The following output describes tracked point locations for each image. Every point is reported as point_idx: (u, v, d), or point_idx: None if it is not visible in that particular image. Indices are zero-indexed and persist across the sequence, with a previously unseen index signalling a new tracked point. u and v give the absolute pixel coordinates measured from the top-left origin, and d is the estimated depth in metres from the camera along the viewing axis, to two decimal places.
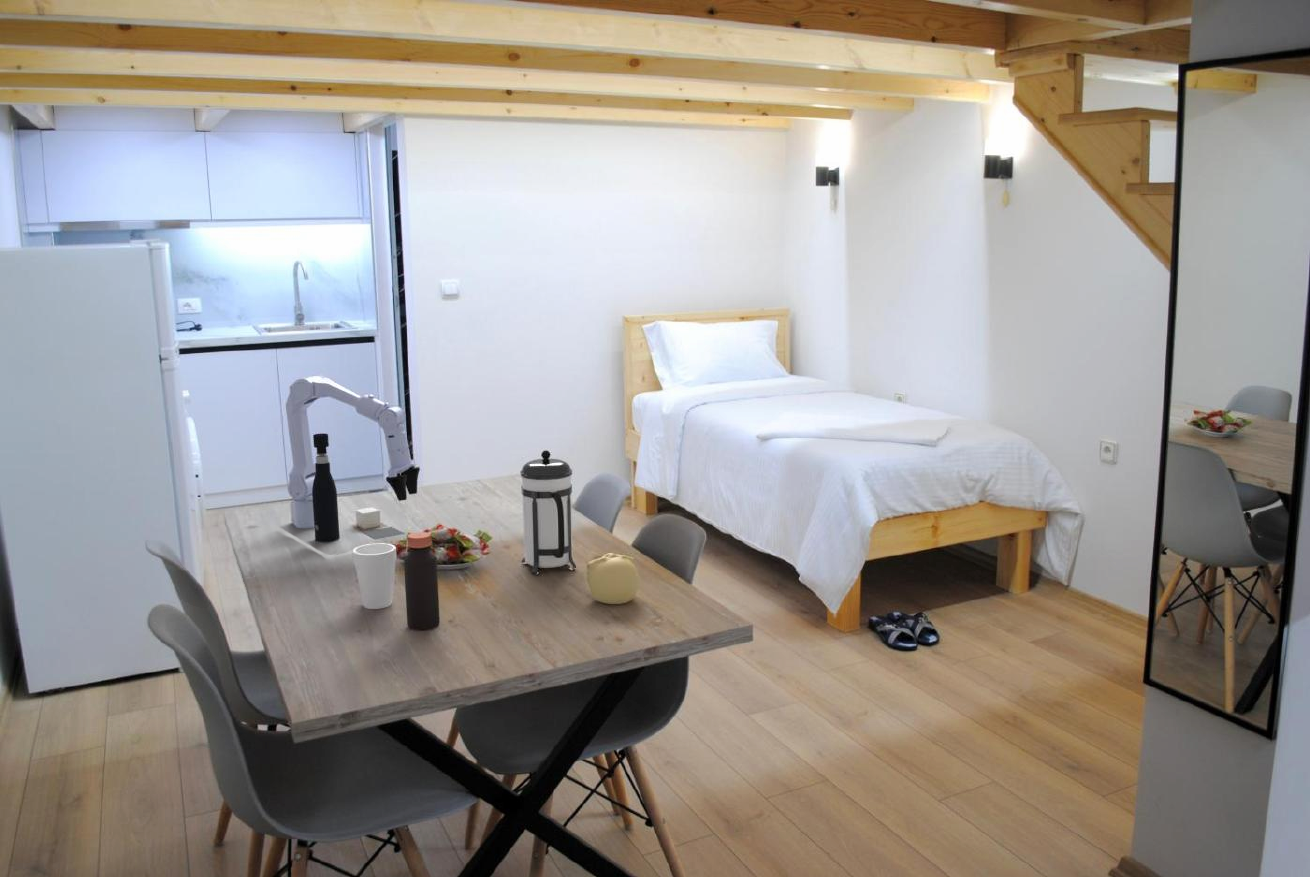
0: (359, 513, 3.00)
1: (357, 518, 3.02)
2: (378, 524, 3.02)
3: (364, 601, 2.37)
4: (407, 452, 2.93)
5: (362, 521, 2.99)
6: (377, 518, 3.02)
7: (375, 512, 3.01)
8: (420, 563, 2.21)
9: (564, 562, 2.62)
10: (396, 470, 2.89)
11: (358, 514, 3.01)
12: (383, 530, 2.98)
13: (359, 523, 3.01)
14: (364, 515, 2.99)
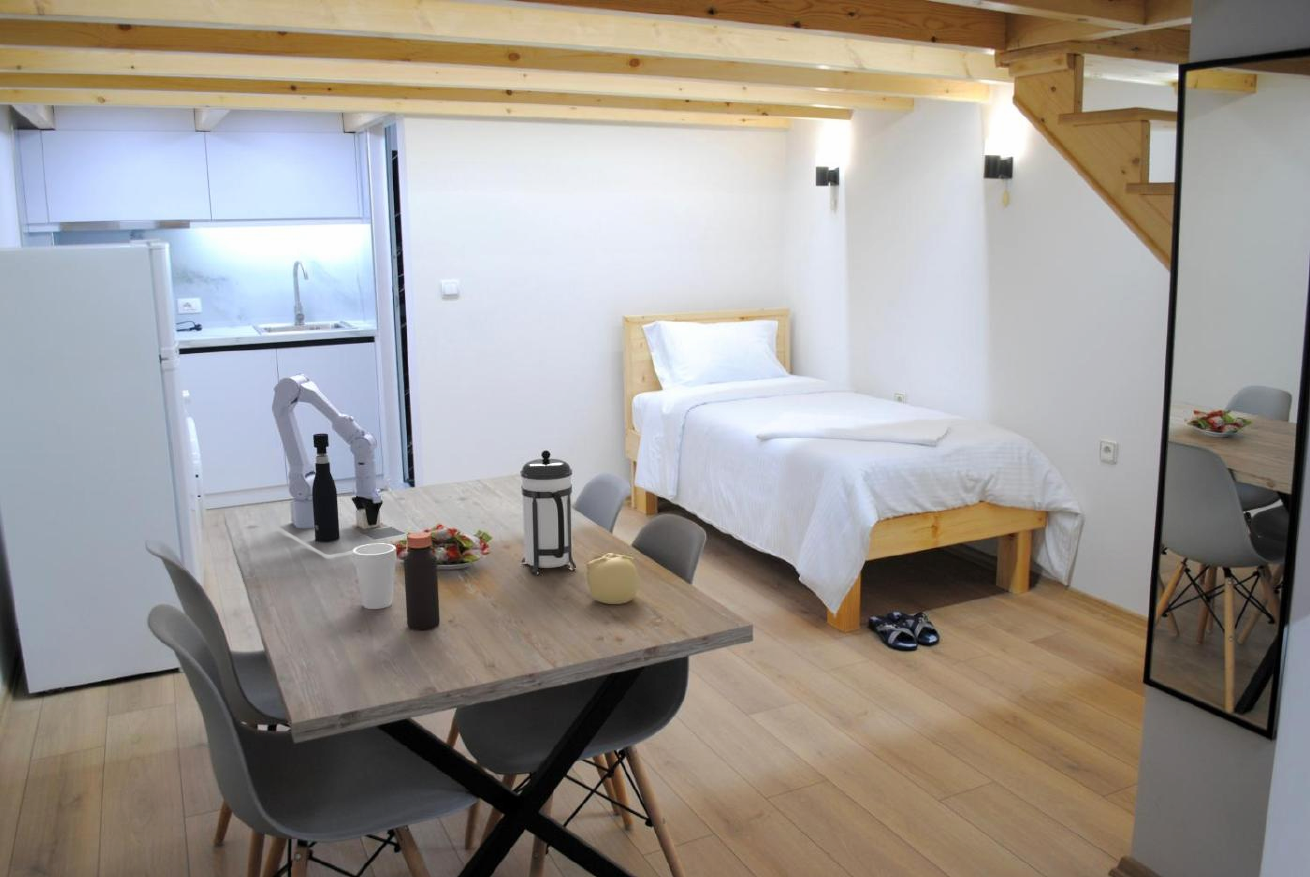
0: (359, 513, 3.00)
1: (357, 518, 3.02)
2: (378, 524, 3.02)
3: (364, 601, 2.37)
4: None
5: (362, 521, 2.99)
6: (377, 518, 3.02)
7: None
8: (420, 563, 2.21)
9: (564, 562, 2.62)
10: None
11: (358, 514, 3.01)
12: (383, 530, 2.98)
13: (359, 523, 3.01)
14: (364, 515, 2.99)
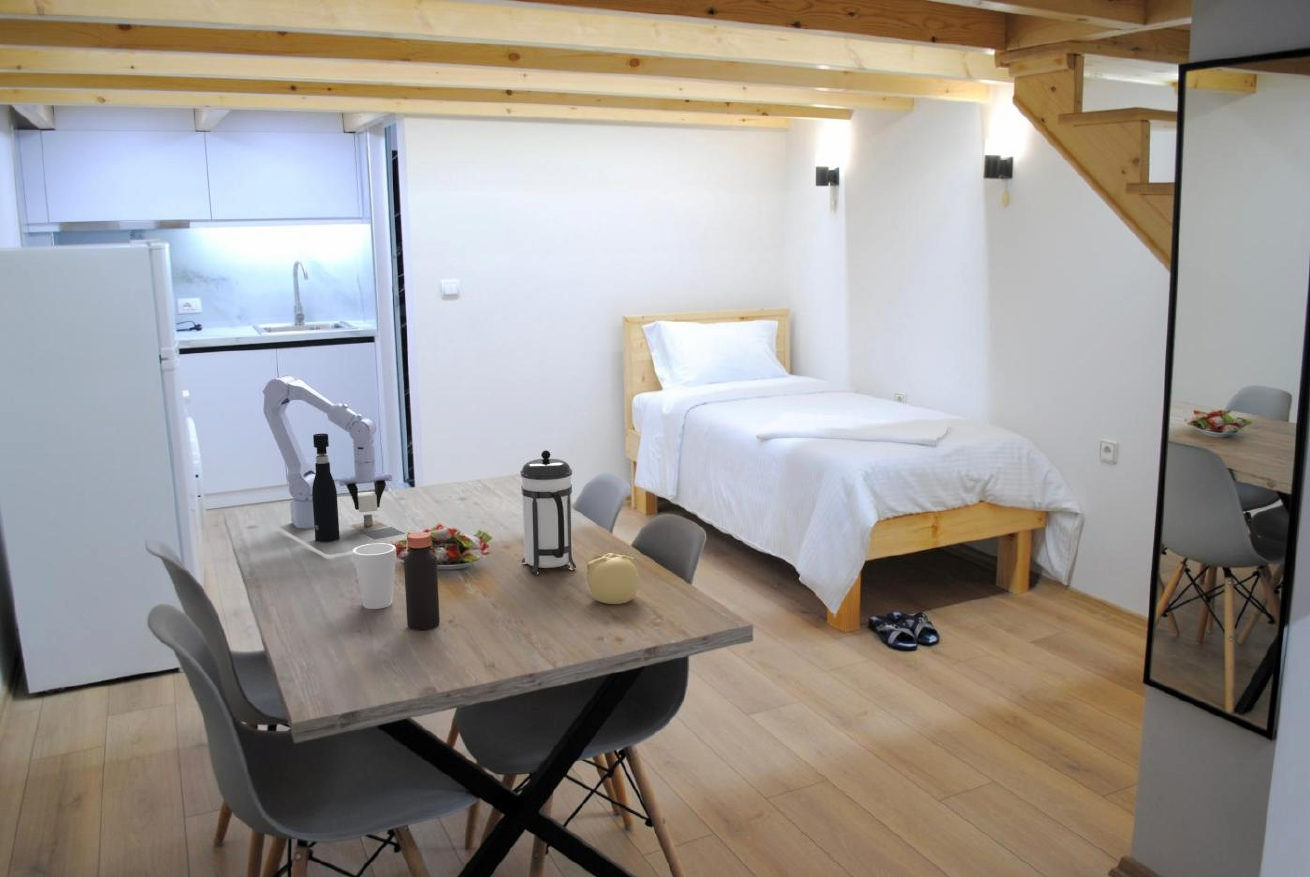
0: (367, 497, 2.99)
1: (362, 504, 2.99)
2: None
3: (364, 601, 2.37)
4: None
5: (374, 504, 3.00)
6: None
7: None
8: (420, 563, 2.21)
9: (564, 562, 2.62)
10: None
11: (363, 499, 2.99)
12: (383, 530, 2.98)
13: (367, 507, 2.99)
14: (376, 497, 3.00)
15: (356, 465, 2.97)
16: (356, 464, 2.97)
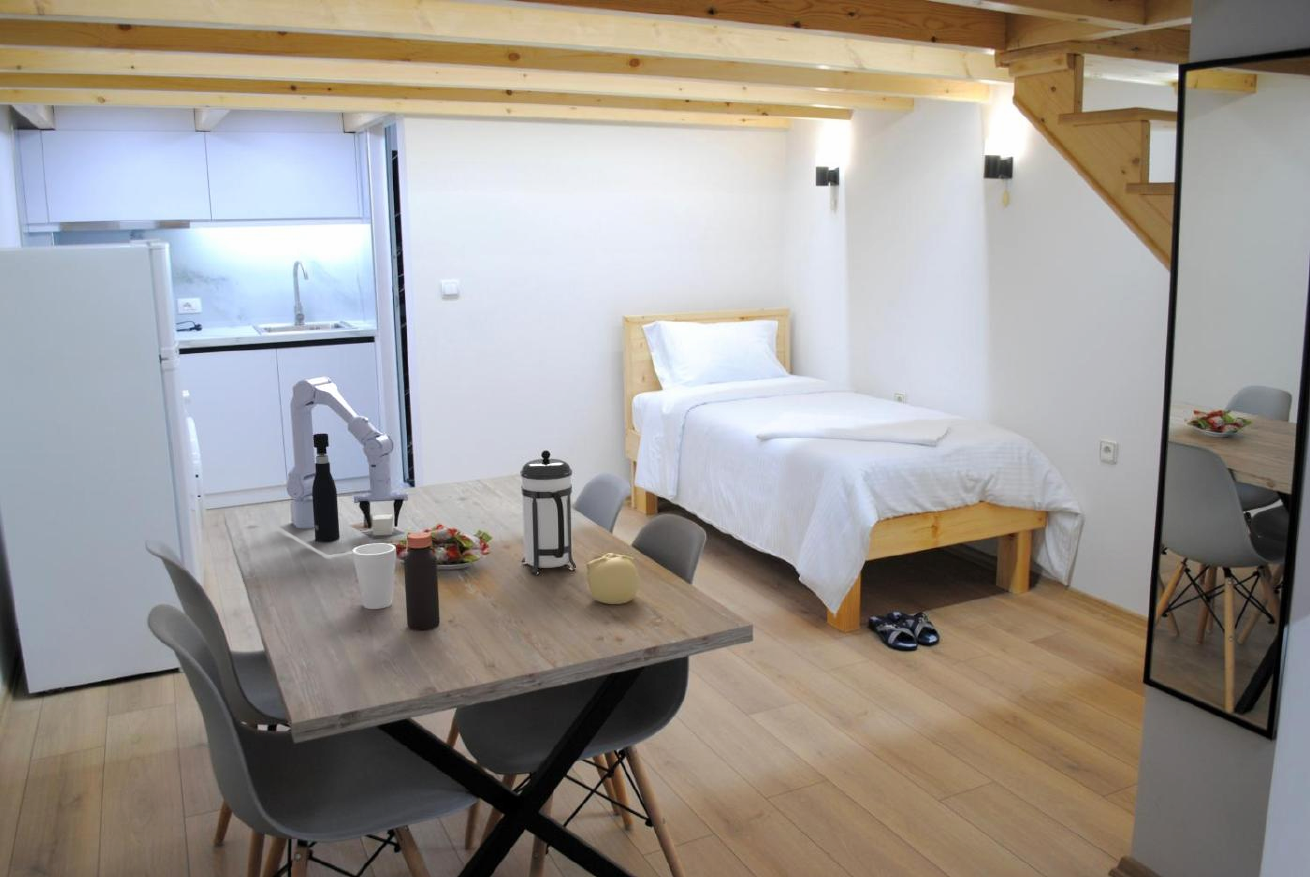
0: (382, 521, 2.92)
1: (376, 527, 2.92)
2: (393, 528, 2.97)
3: (364, 601, 2.37)
4: None
5: (389, 527, 2.93)
6: None
7: (392, 516, 2.96)
8: (420, 563, 2.21)
9: (564, 562, 2.62)
10: None
11: (378, 522, 2.92)
12: None
13: (381, 530, 2.93)
14: (391, 520, 2.93)
15: (370, 483, 2.91)
16: (370, 482, 2.91)
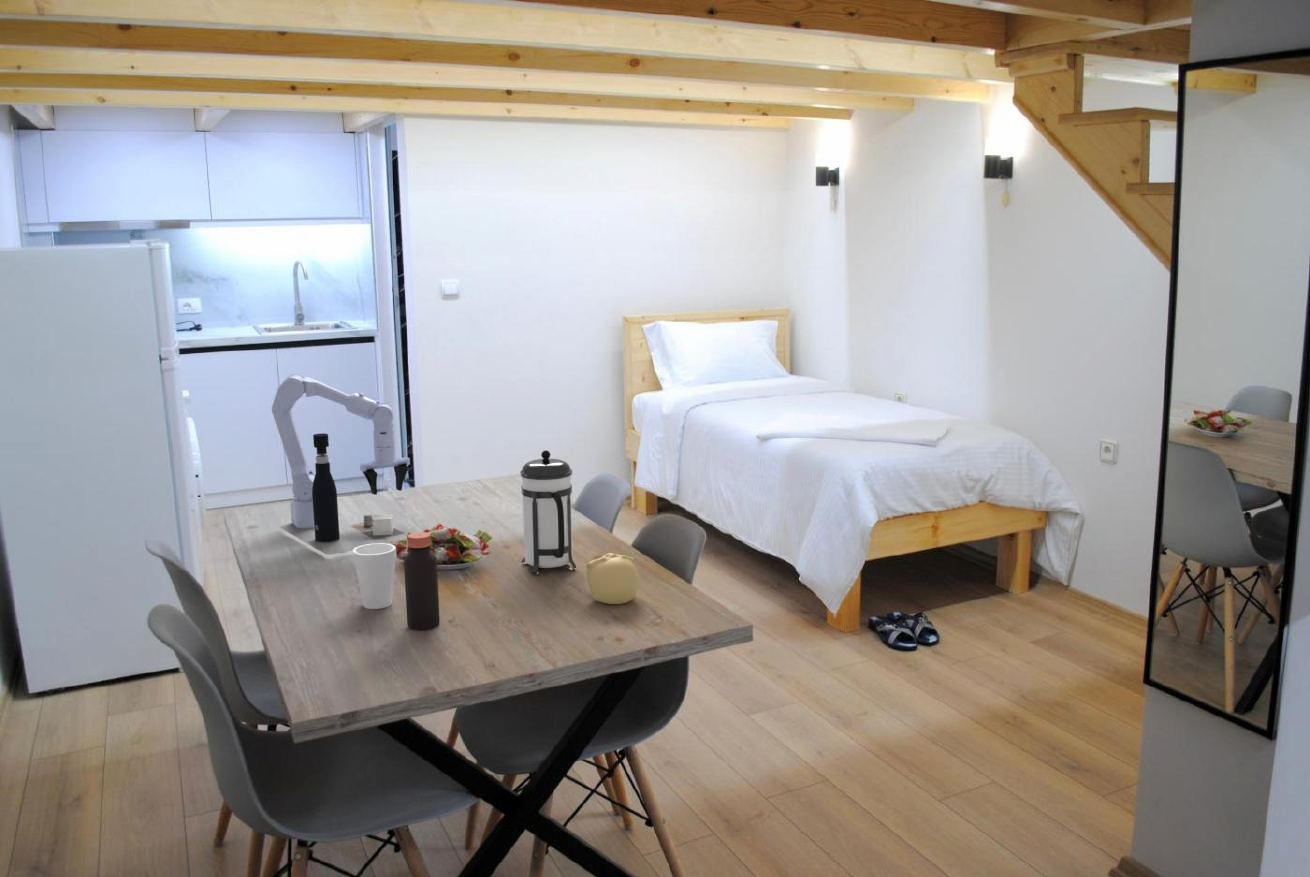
0: (382, 521, 2.92)
1: (376, 527, 2.92)
2: (393, 528, 2.97)
3: (364, 601, 2.37)
4: None
5: (389, 527, 2.93)
6: None
7: (392, 516, 2.96)
8: (420, 563, 2.21)
9: (564, 562, 2.62)
10: None
11: (378, 522, 2.92)
12: None
13: (381, 530, 2.93)
14: (391, 520, 2.93)
15: (377, 450, 3.02)
16: (377, 449, 3.02)
